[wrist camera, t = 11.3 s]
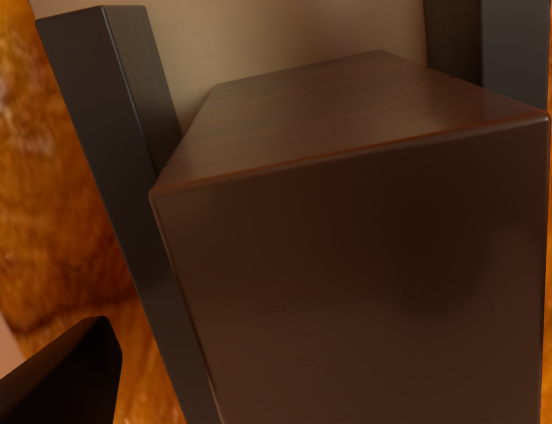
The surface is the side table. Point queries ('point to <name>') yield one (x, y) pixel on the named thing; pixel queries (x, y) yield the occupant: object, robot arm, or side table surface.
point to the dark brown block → (362, 245)
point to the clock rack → (231, 66)
